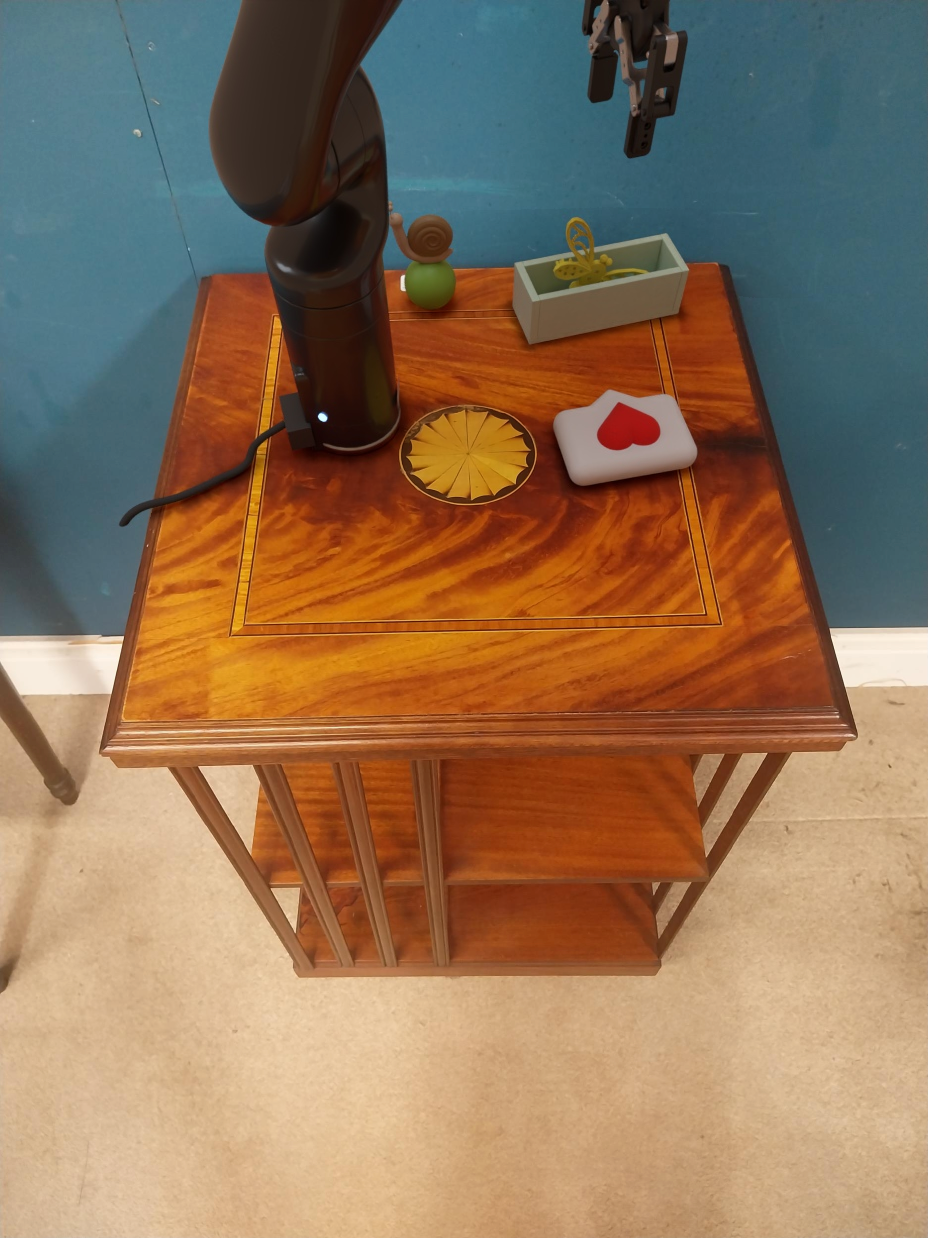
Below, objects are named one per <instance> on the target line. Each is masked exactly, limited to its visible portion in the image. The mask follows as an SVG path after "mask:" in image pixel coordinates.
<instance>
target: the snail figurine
mask: <svg viewBox="0 0 928 1238" xmlns="http://www.w3.org/2000/svg"><path fill="white" fill-rule="evenodd" d="M393 211H394V206H393V202H392V201H391V200H389V227H390V228H391V229H392V230H391V231H392V233H393V235H394V239H395V242H396V244H397V247H398V248H399V250H400V252H401V253H402V255H404V256H405V257H406V258H407V259H409V260H411V262H410V264H408V266H407V269H406V270H405V273H404V281H403V282H404V283H403V285H404V290H405V293H406V295H407V297H408V298H409V300H410V301H411V302H412V303H413V304H414V305H415V306H417V307H418V308H421V309H423V310H429V311H430V310H432V311H433V310H437V309H441V308H443V307H444V306H446V305H447V304H448V303H449V302H450V301H451V300H452V299H453V296H454V294H455V291H456V287H457V278H456V277H457V276H456V273H455V271H454V269H453V266H452V264H450V263H449V261H448V260H446V259H448V258H449V257H450V256H451V255H452V254H453V252H454V248H452V247H451V245H452V243H453V239H454V232H453V228H452V226H451V224H450V223H449V222H448V220H447V219H445V218H444V217H443V216H440V215H437V214H424V215H422V216H419V217H418V218H416V219H415V220H413V221H412V222H411V224H410V225H409V227H408V230H407V234H406V232H405V229H404V226H403V224H404V218H403V215H401V213H398V212H393ZM392 212H393V213H392Z"/></svg>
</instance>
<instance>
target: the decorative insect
mask: <svg viewBox="0 0 928 1238" xmlns="http://www.w3.org/2000/svg"><path fill="white" fill-rule="evenodd" d="M576 224H577V225H580V226H581V227H582V228H583V229H584V230H585V231H586V232H585V231H584V230H581V228H579V227H577V225H576ZM572 228H573V230H575V232H577V233H576V234H574V236H572V237H571V230H572ZM565 237H566V238H565V239H566V242H567V245H568V248H569V249H570V252H573V254H574V255H575V257H576V258H577V260H578V261H577V262H574V261H572V258H569V261H566V262H565V260H564V259H563V258H562V259H561V260H560V261H559V262H558V261H556V262H555V263H556V266H555V267H554V269H553V271H554V274H555V276H556V277H557V278H559V279H564V280H570V279H576V278H579V281H574V282H572V283H571V284H570V286H569V289H571V288H576V287H581V286H586V285H590V284H595V283H597V282H598V283H600V282H605V281H610V280H615V279H614V278H612V276H613V277H615V276H616V277H617V276H618V277H622V278H625V277H627V276H625V275H623V274H626V273H634V276H635V275H639V274H645V273H649V272H648V271H646V270H640V269H634V268H631V269H617V270H613V271H609V272H606V266H607V267H608V266H611V264H612V259H610V258H608V256H607V255H605V254H603V255H601V256H600V260H594V247H595V239H594V237H593V234H592V231H591V229H590V226H589V225H588V223H587V222H586V221H585V220H584V219H583V218H580V217H579V216H575V217H572V218H570V220H569V221H568V222H567V223H566V228H565ZM579 237H585V238H587V239H588V246H589V248H587V246H586V245H585V243H584V242H582V241H580V240H579V241H578V240H577V239H578V238H579ZM575 246H580V247H581V250H584V251H585V254H586V258H585V257H583V256H582V255H581V254H580V253H579V252H578V251H579V250H577V249H576V247H575ZM587 249H589V254H588V251H587ZM596 270H597V272H596ZM571 273H574V274H571ZM590 277H591V278H590ZM587 278H588V279H587ZM565 290H566V289H565Z"/></svg>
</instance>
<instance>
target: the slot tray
mask: <svg viewBox="0 0 928 1238" xmlns="http://www.w3.org/2000/svg"><path fill="white" fill-rule="evenodd" d="M577 251H578V252H579V253H580V254H581V255H582V256H583V257H585V258H586V254H585V251H584V250H583V249H579V250H577ZM587 251H588V254H589V248H587ZM603 254H605V255H607V256H608V258H610V259H612V264H611V266H608V267H607V266H606V272H609V271H613V270H617V269H631V268H634V269H640V270H646V271H648V272H649V273H645V274H639V275H635V276H634V273H626V274H623V275H625V276H627V277H625V278H622V277H618V276H617V277H616V276H615V277H613V276H612V278H614V279H615V280H610V281H605V282H600V283H598V282H597V283H595V284H590V285H586V286H581V287H576V288H571V289H569V286H570V284H571V283H572V282H574V281H579V278H576V279H570V280H564V279H559V278H557V277H556V276H555V274H554V271H553V269H554V267H555V266H556V263H555V262H556V261H558V262H559V261H560V260H561V259H562V258H563V259H564V260H565V262H566V261H569V258H572V261H574V262H577V261H578V260H577V258H576V257H575V255H574V254H573V252H572V251H570V252H569V251H568V252H564V253H558V254H553V255H549V256H544V257H538V258H533V259H528V260H523V261H517V262H514V264H513V265H514V267H513V288H512V309H513V311H514V313H515V315H516V317H517V320H518V323H519V324H520V327H521V330H522V331H523V333H524V335H525V338H526V340H527V342H528V345H534V344H539V343H544V342H548V341H554V340H558V339H563V338H567V337H573V336H578V335H582V334H587V333H592V332H596V331H601V330H606V329H611V328H615V327H619V326H626V325H629V324H634V323H640V322H643V321H649V320H653V319H658V318H663V317H668V316H669V317H670V316H673V315H678V314H679V312H680V307H681V303H682V300H683V296H684V292H685V290H686V289H685V288H686V284H687V280H688V277H689V273H690V269H689V267H688V265H687V263H686V262H685V261H684V259H683V257H682V256H681V254H680V252H679V251H678V249H677V247H676V245H675V244H674V242H673V241H672V239H671V237H670V236H669V234H668V233H661V234H656V235H651V236H645V237H641V238H640V237H639V238H636V239H630V240H624V241H620V242H614V243H610V244H604V245H599V246H594V260H600V256H601V255H603ZM596 272H597V270H596ZM571 274H574V273H571ZM590 278H591V277H590ZM587 279H588V278H587ZM565 289H566V290H565Z"/></svg>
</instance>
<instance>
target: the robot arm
mask: <svg viewBox="0 0 928 1238" xmlns="http://www.w3.org/2000/svg"><path fill="white" fill-rule="evenodd" d="M403 1H404V0H241V1H240V4H239V5H240V6H239V10H238V14H237V17H236V22H235V24H234V27H233V28H234V29H233V31H232V35H231V38H230V41H229V44H228V48H227V51H226V55H225V58H224V61H223V65H222V67H221V70H220V74H219V77H218V80H217V83H216V87H215V89H214V94H213V97H212V102H211V104H210V108H209V117H208V142H209V149H210V153H211V158H212V162H213V164H214V167H215V170H216V173H217V175H218V178H219V180H220V183H221V184H222V186H223V187H224V190H225V191H226V193H227V194H228V196H229V197H230V199H231V200H232V201H233V203H234V204H235V205H236V206H237V207H238V208H239V209H240V210H241V212H243V213H244V214H245V215H247V216H248V217H249V218H251V219H253V220H254V221H257V222H258V223H261V224H264V225H265V226H270V228H269V230H268V232H267V235H266V237H265V241H264V249H263V251H264V252H263V254H264V262H265V267H266V271H267V275H268V279H269V282H270V285H271V289H272V293H273V294H272V295H273V297H274V302H275V305H276V310H277V313H278V318H279V322H280V327H281V329H282V333H283V339H284V342H285V346H286V350H287V354H288V357H289V358H288V359H289V363H290V367H291V370H292V375H293V378H294V383H295V387H296V391H297V392H296V391H295V392H292V393H291V392H290V393H286V394H282V395H279V396H278V400H279V404H280V408H281V412H282V417H283V420H281V421H280V422H278V423H276V424H275V425H273V426H271V427H270V428H268V429H266V430H264V431H263V432H262V433H261V434H259V435H257V437H256V438H255V439H253V440H252V442H251V443H250V444H249V447H248V448H247V451H246V456H245V458H244V460H243V461H242V462H240V464H238V465H237V466H235V467H233V468H231V469H229V470H227V471H224V472H222V473H219V474H217V475H215V476H213V477H211V478H209V479H207V480H205V481H203V482H200V483H198V484H196V485H194V486H192V487H190V488H187V489H185V490H183V491H180V492H178V493H175V494H171V495H167V496H163V497H157V498H154V499H149V500H147V501H144V502H141V503H138V504H135V506H132V507H131V508H130V509H129V510H128V511H126V512H125V514H123V516H122V518H121V519H120V521H119V523H118V526H119V527H121V528H123V527H126V526H128V525H129V524H130V523H131V521H132V520H133V519H134V518H135V517H137V515H139V514H141V513H142V512H145V511H148V510H151V509H154V508H158V507H162V506H167V505H171V504H175V503H178V502H181V501H184V500H186V499H189V498H191V497H194V496H196V495H198V494H200V493H202V492H204V491H207V490H209V489H212V488H213V487H214V486H217V485H219V484H221V483H223V482H225V481H227V480H230V479H233V478H235V477H236V476H239V475H241V474H242V473H244V472H245V471H246V470H247V469H248V468H249V467H250V466H251V465H252V463H253V462H254V459H255V456H256V453H257V450H258V448H259V447H260V446H261V445H262V444H263V443H264V442H265V441H267V440H269V439H270V438H271V437H273V436H275V435H277V434H278V433H281V431H283V430H286V434H287V438H288V441H289V444H290V449H291V451H296V450H302V449H306V448H311V450H312V451H314V452H319V451H326V452H329V453H332V454H336V455H341V456H342V455H343V456H358V455H364V454H367V453H371V452H373V451H375V450H378V449H379V448H381V447H384V445H386V444H387V443H388V442H390V440H391V439H392V438H393V437H395V435H396V434H397V432H398V430H399V428H400V425H401V421H402V410H401V403H400V379H399V376H397V373H396V366H395V356H394V346H393V338H392V329H391V328H392V327H391V319H390V312H389V311H390V310H389V303H388V301H389V300H388V293H387V283H386V274H385V266H384V257H383V256H384V250H385V247H386V244H387V240H388V236H389V233H390V231H389V230H390V224H389V216H390V211H389V201H390V200H389V198H390V197H389V180H388V177H389V176H388V157H387V144H386V143H387V142H386V132H385V126H384V121H383V115H382V111H381V108H380V103H379V100H378V97H377V95H376V92H375V89H374V86H373V84H372V82H371V80H370V78H369V77H368V74H367V72H366V71H365V70H364V68H363V66H362V65H361V64H362V62H363V61H364V60H365V58H366V56H367V54H369V52H370V50H371V49H372V48H373V46H374V44H376V43H375V42H376V41H377V40H378V38H379V37H380V35H381V34H382V33H383V31H384V30H385V28H386V26H387V25H388V23H389V22H390V21H391V19H392V18H393V16H394V15H395V13H396V12H397V11H398V9H399V7H400V6H401V5H402V3H403ZM670 2H671V0H584V5H583V13H582V20H581V21H582V22H581V33H582V35H583V36H584V37H586V36H589V39H588V45H587V47H588V52H589V54H590V55H591V60H590V68H589V76H588V86H587V93H586V95H587V99H588V101H589V102H590V103H591V104H597V103H603V102H608V101H610V100H611V99H612V98H613V95H614V90H615V85H616V77H617V68H618V62H619V60H620V70H621V79H622V82H623V83H624V84H625V85H626V86H628V92H629V93H628V94H629V107H630V110H629V114H628V119H627V125H626V133H625V139H624V143H623V154H624V155H625V156H626V158H627V159H629V160H631V159H635V158H642V157H645V156H648V155H649V154H650V153H651V150H652V146H653V145H652V144H653V139H654V135H655V130H656V125H657V119H662V118H667V117H672V116H675V114H676V111H677V105H678V98H679V93H680V87H681V81H682V76H683V70H684V65H685V60H686V54H687V49H688V42H689V41H688V40H689V37H688V32H687V30H685V29H684V30H678V31H673V30H672V29H671V28H670ZM598 7H599V8H600V11H599V12H598V14H597V15H596V17H595V11H596V8H598ZM646 61H647V64H646V67H643V68H637V67H635V64H636V63H642V62H646ZM642 82H644V84H643V85H644V86H643V90H642V89H641V88H642V87H641V86H642V85H641V83H642ZM642 92H643V93H642Z"/></svg>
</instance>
